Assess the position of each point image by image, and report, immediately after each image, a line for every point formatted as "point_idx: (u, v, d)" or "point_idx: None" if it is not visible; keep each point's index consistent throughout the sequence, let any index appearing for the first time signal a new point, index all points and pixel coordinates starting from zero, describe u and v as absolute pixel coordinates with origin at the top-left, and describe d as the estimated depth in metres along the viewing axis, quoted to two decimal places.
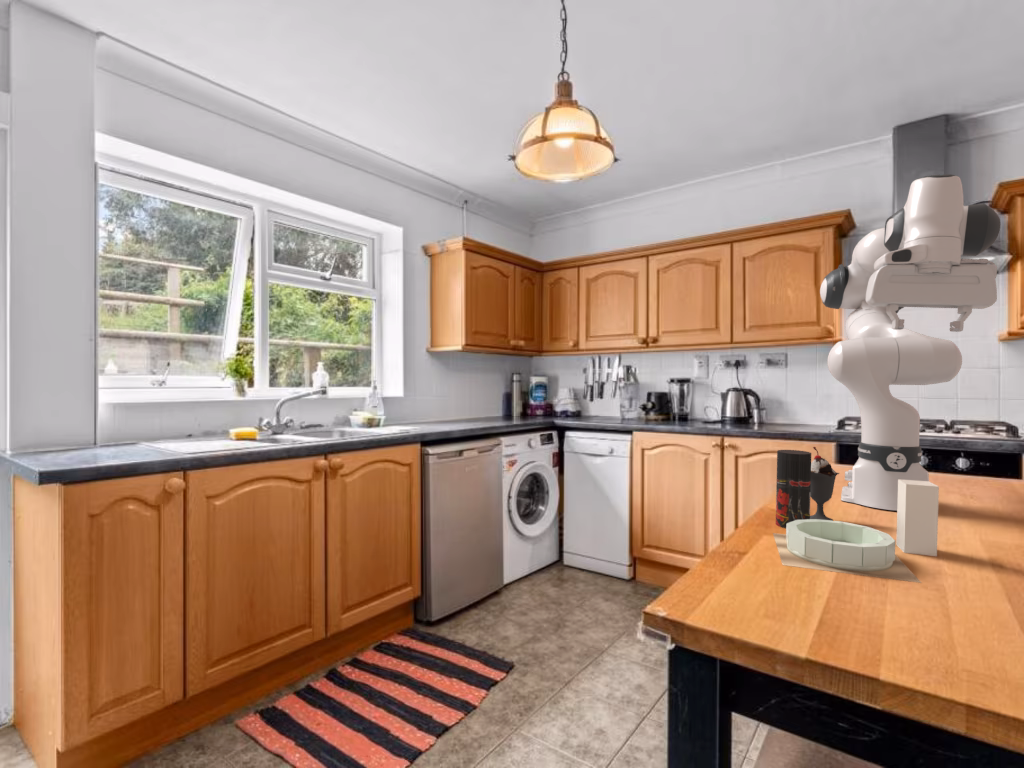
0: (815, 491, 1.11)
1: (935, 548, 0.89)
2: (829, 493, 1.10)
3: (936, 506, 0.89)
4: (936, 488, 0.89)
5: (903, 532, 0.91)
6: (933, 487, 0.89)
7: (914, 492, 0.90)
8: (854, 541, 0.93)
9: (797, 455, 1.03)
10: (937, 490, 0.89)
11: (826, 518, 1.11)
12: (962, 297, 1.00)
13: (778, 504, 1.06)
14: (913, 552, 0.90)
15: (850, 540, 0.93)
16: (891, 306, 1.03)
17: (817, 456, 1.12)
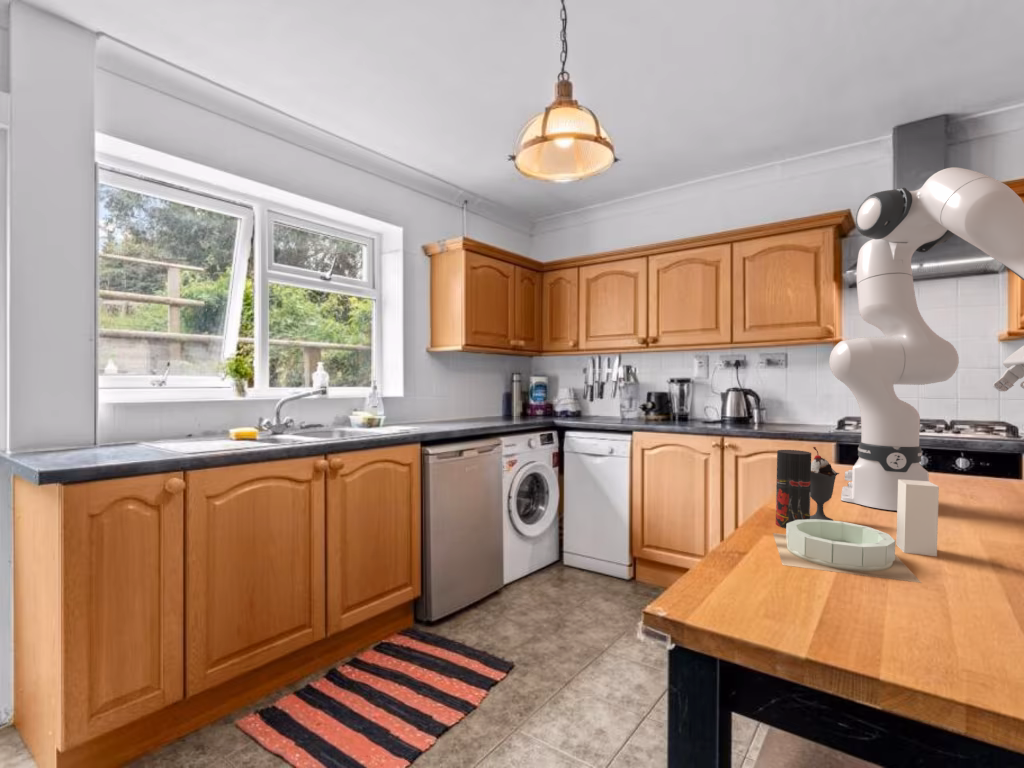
0: (815, 491, 1.11)
1: (935, 548, 0.89)
2: (829, 493, 1.10)
3: (936, 506, 0.89)
4: (936, 488, 0.89)
5: (903, 532, 0.91)
6: (933, 487, 0.89)
7: (914, 492, 0.90)
8: (854, 541, 0.93)
9: (797, 455, 1.03)
10: (937, 490, 0.89)
11: (826, 518, 1.11)
12: None
13: (778, 504, 1.06)
14: (913, 552, 0.90)
15: (850, 540, 0.93)
16: None
17: (817, 456, 1.12)
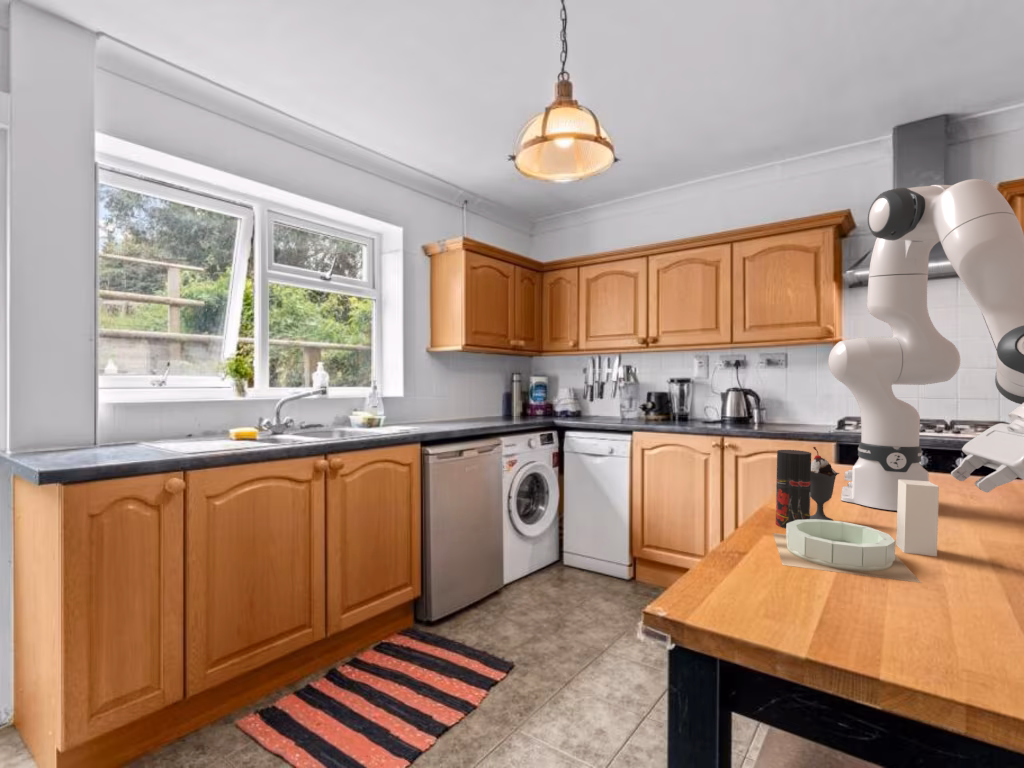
0: (815, 491, 1.11)
1: (935, 548, 0.89)
2: (829, 493, 1.10)
3: (936, 506, 0.89)
4: (936, 488, 0.89)
5: (903, 532, 0.91)
6: (933, 487, 0.89)
7: (915, 492, 0.90)
8: (854, 541, 0.93)
9: (797, 455, 1.03)
10: (937, 490, 0.89)
11: (826, 518, 1.11)
12: None
13: (778, 504, 1.06)
14: (913, 552, 0.90)
15: (850, 540, 0.93)
16: None
17: (817, 456, 1.12)
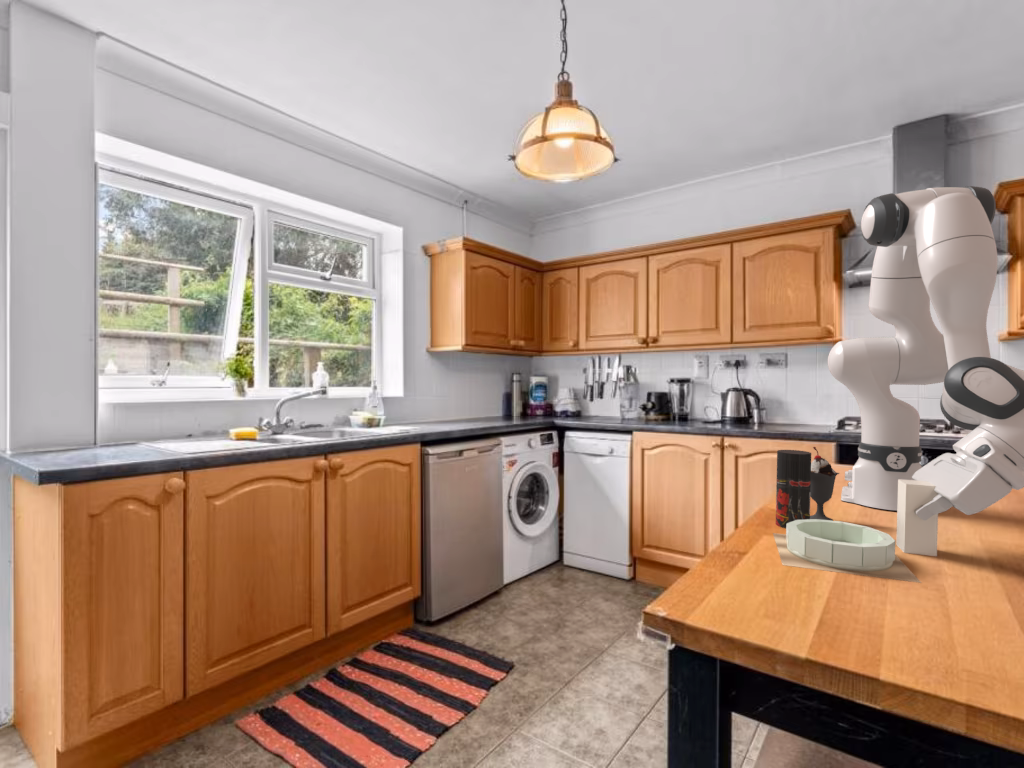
0: (815, 491, 1.11)
1: (935, 548, 0.89)
2: (829, 493, 1.10)
3: None
4: None
5: (903, 532, 0.91)
6: (933, 487, 0.89)
7: (914, 491, 0.90)
8: (854, 541, 0.93)
9: (797, 455, 1.03)
10: None
11: (826, 518, 1.11)
12: None
13: (778, 504, 1.06)
14: (913, 552, 0.90)
15: (850, 540, 0.93)
16: None
17: (817, 456, 1.12)
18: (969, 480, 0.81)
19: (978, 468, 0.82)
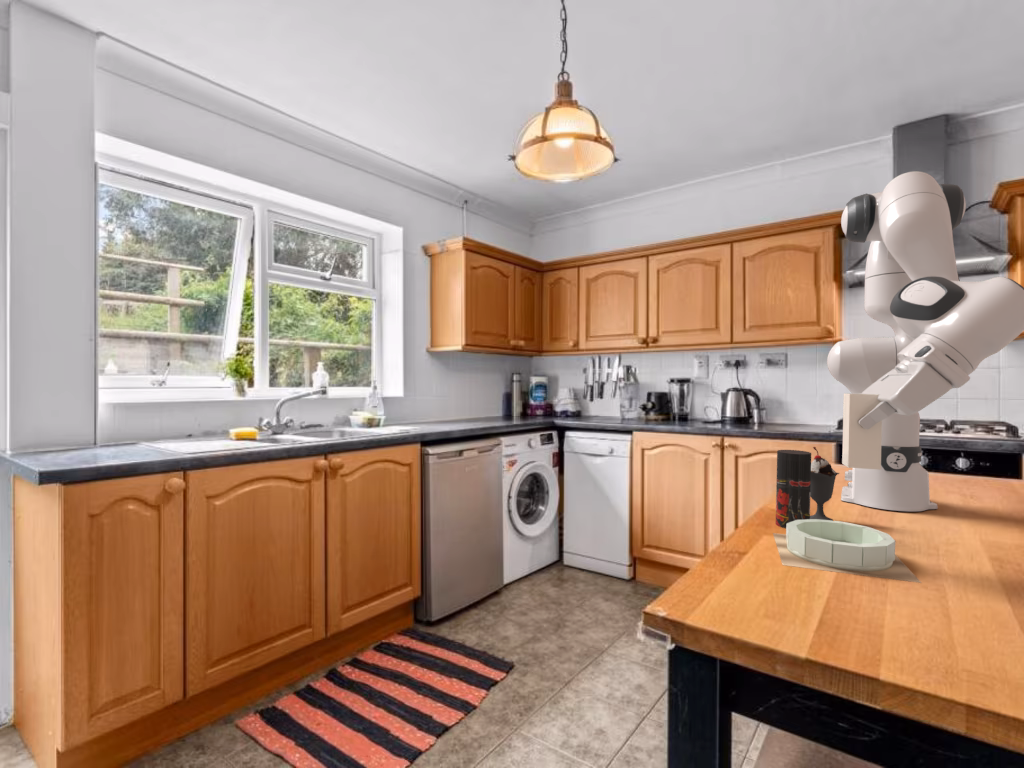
0: (815, 491, 1.11)
1: (879, 459, 0.86)
2: (829, 493, 1.10)
3: None
4: None
5: (847, 444, 0.88)
6: (877, 395, 0.86)
7: (858, 401, 0.87)
8: (854, 541, 0.93)
9: (797, 455, 1.03)
10: None
11: (826, 518, 1.11)
12: None
13: (778, 504, 1.06)
14: (857, 464, 0.87)
15: (850, 540, 0.93)
16: None
17: (817, 456, 1.12)
18: (909, 379, 0.79)
19: (918, 367, 0.79)
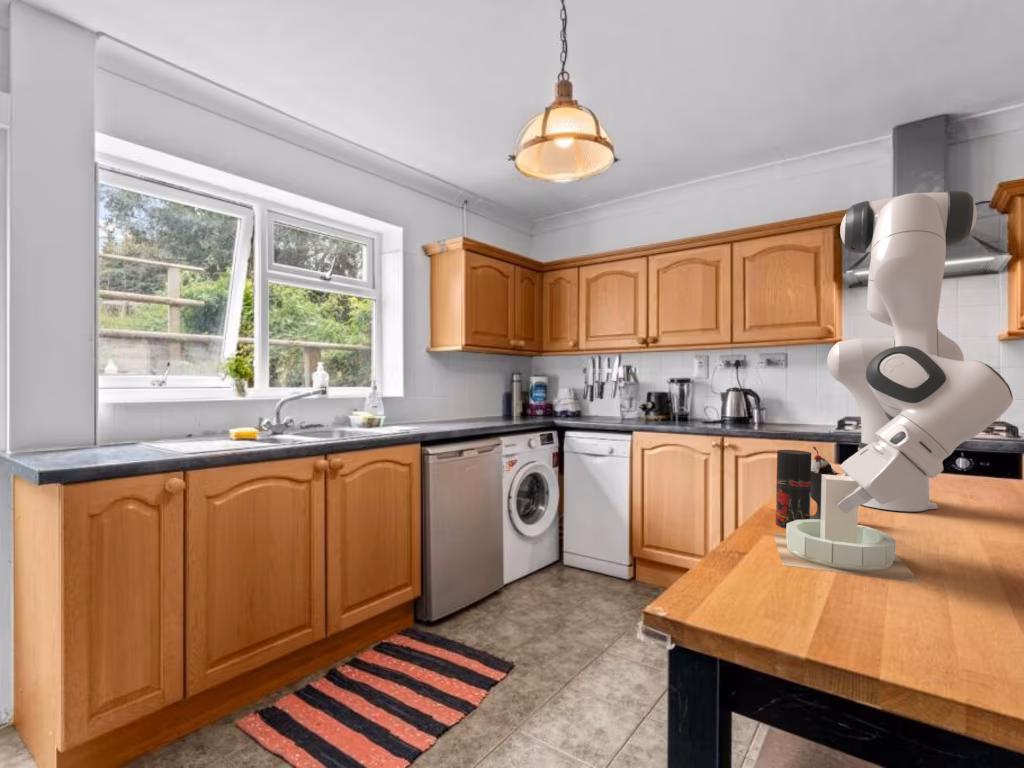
0: (815, 491, 1.11)
1: None
2: None
3: None
4: (856, 483, 0.86)
5: (824, 528, 0.89)
6: (853, 482, 0.86)
7: (834, 487, 0.87)
8: None
9: (797, 455, 1.03)
10: (857, 485, 0.86)
11: None
12: None
13: (778, 504, 1.06)
14: None
15: None
16: None
17: (817, 456, 1.12)
18: (882, 468, 0.79)
19: (892, 456, 0.79)
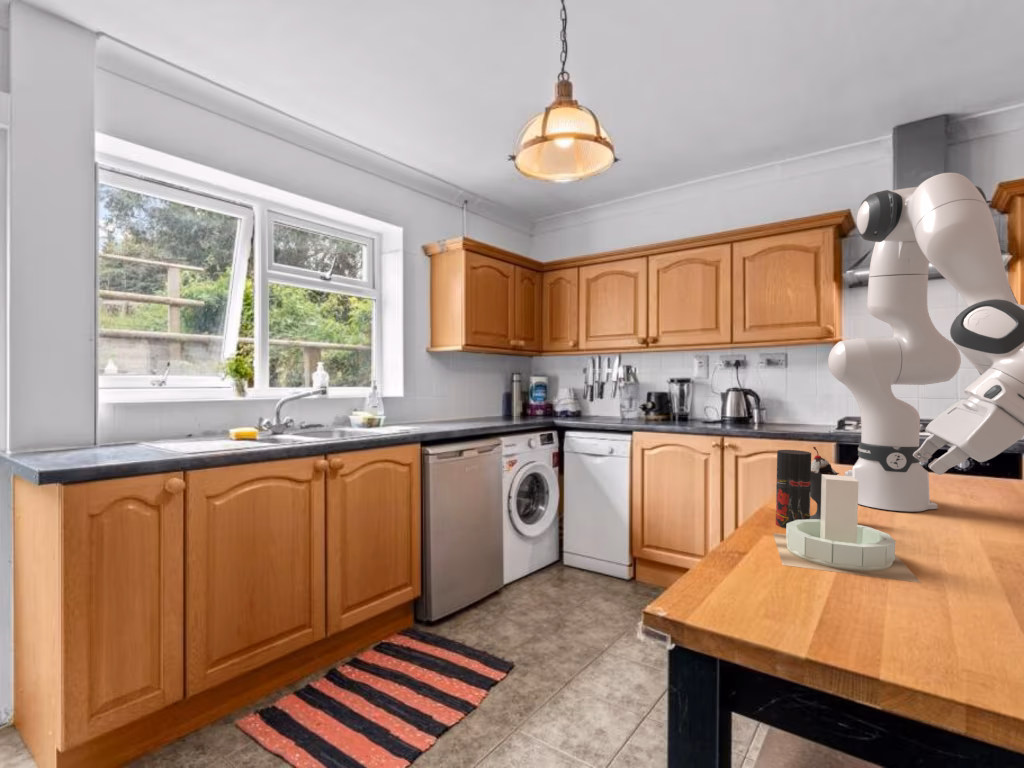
0: (815, 491, 1.11)
1: None
2: None
3: (856, 501, 0.86)
4: (856, 483, 0.86)
5: (824, 528, 0.89)
6: (853, 482, 0.86)
7: (834, 487, 0.87)
8: None
9: (797, 455, 1.03)
10: (857, 485, 0.86)
11: None
12: None
13: (778, 504, 1.06)
14: None
15: None
16: None
17: (817, 456, 1.12)
18: (979, 424, 0.75)
19: (988, 411, 0.75)
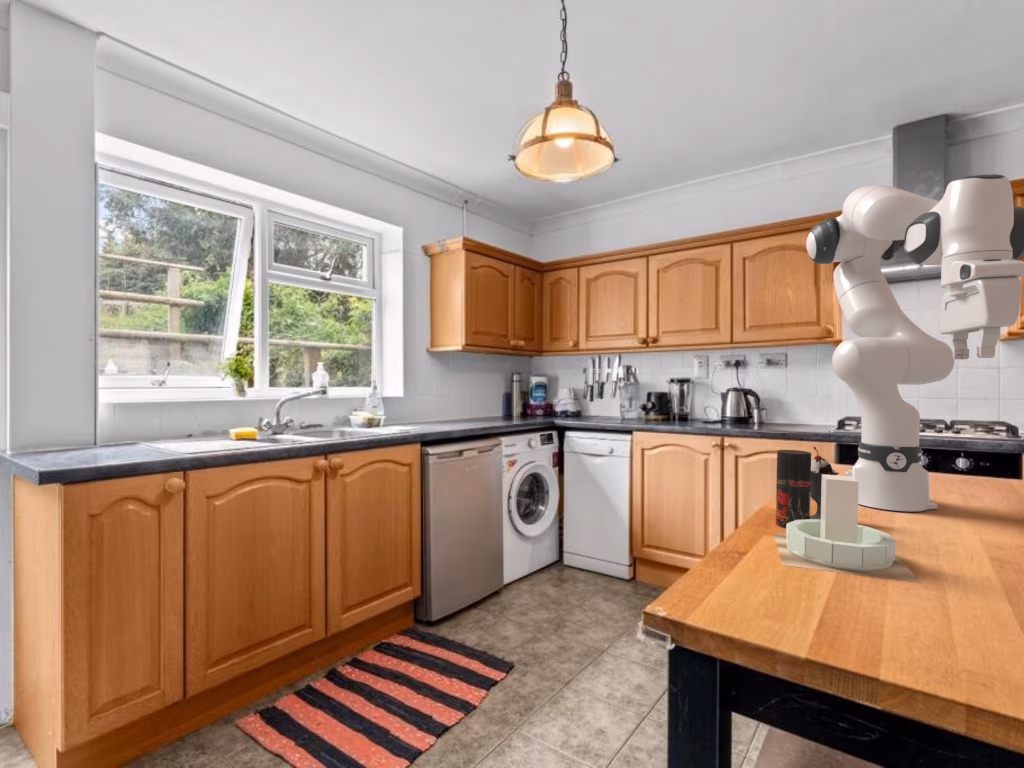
0: (815, 491, 1.11)
1: None
2: None
3: (856, 501, 0.86)
4: (856, 483, 0.86)
5: (824, 528, 0.89)
6: (853, 482, 0.86)
7: (834, 487, 0.87)
8: None
9: (797, 455, 1.03)
10: (857, 485, 0.86)
11: None
12: None
13: (778, 504, 1.06)
14: None
15: None
16: None
17: (817, 456, 1.12)
18: (983, 300, 0.80)
19: (978, 286, 0.81)
